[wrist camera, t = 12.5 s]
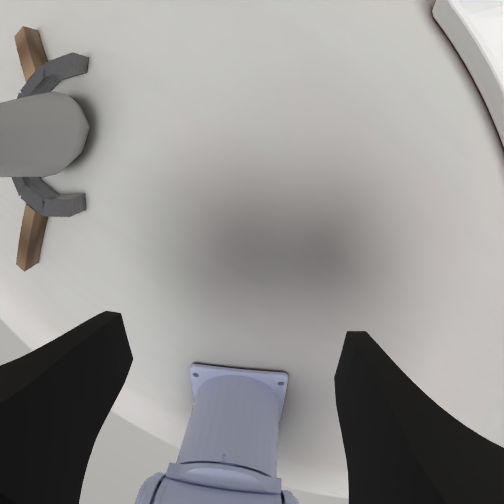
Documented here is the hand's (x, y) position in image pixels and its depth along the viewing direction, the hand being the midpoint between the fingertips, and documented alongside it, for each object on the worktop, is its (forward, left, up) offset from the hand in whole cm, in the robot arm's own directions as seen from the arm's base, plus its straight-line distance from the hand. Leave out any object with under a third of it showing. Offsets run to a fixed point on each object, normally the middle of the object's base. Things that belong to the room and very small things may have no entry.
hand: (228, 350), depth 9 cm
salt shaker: (+8, +14, -11) cm, 19 cm away
